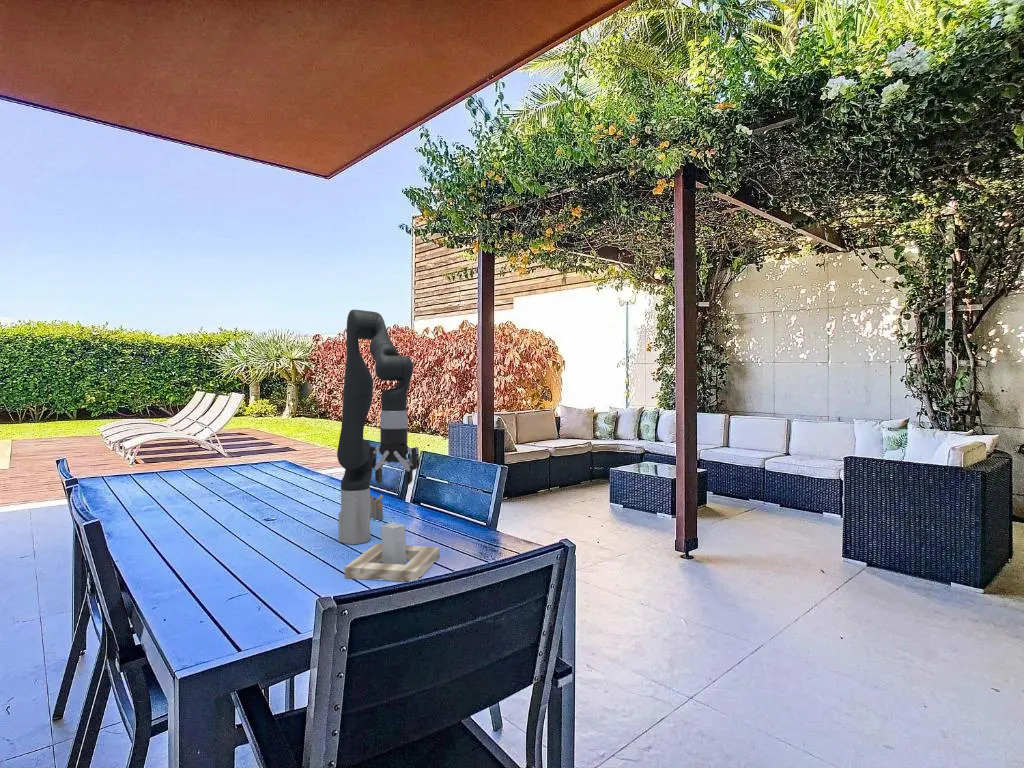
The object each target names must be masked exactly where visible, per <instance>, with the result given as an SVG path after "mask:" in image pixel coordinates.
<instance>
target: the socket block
mask: <svg viewBox="0 0 1024 768" xmlns="http://www.w3.org/2000/svg"><path fill="white" fill-rule="evenodd" d="M405 547H406V560H409V561H408V562H406V565H399V564H383V561H382V543H375V544H374V545H373V546H371V547H370V548H369V549H367V550H366V551H365V552H363V553H362V554H361V555H359V556H357V557H356V558H355V559H354V560H352V561H351V562H350V563H348V564H347V565H345V566H344V578H345V579H352V580H366V579H383V580H394V581H393V582H395V581H400V582H399V583H406V582H405V581H411V580H416V579H419V580H420V579H421V578H422V577H423V576H424V575H423V574H425V573H427V571H429V569H430V568H431V567H432V566H433V565H434V564H435V563H436V561H438V560H439V558H440V547H438V546H437V547H436V546H422V545H406V544H405ZM381 561H382V562H381ZM434 562H435V563H434ZM433 563H434V564H433ZM421 576H422V577H421ZM419 577H421V578H419ZM402 580H403V581H402Z"/></svg>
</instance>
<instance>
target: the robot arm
mask: <svg viewBox="0 0 1024 768" xmlns="http://www.w3.org/2000/svg"><path fill="white" fill-rule="evenodd" d="M346 318H347V319H346V357H345V359H346V361H345V368H344V369H345V371H344V372H345V373H344V380H343V381H344V382H343V393H342V400H343V401H342V411H341V426H340V427H341V429H340V434H339V441H338V445H337V451H336V452H337V453H336V456H337V461H338V464H339V465H340V466H341V467H342V468H343V469H344V475H343V477H342V479H341V481H340V512H338V514H337V515H338V521H337V522H338V543H343V544H346V545H358V544H363V543H364V544H365V543H367V542H369V541H370V540H371V518H370V496H371V480H372V476H373V469H374V474H375V475H374V480H375V482H376V484H381V483H383V468H382V467H383V466H385V464H386V463H397V464H398V463H400V464H401V465H402V466H403V467H404V469H405V470H406V471H405V485H410V484H411V483H412V482H413V474H414V473H413V472H414V470H417V469H419V468H420V454H419V453H420V452H419V449H420V448H419V447H418V446H415V447H409V446H408V428H409V427H408V426H409V422H408V420H409V419H408V409H407V407H408V406H407V402H408V401H407V400H408V399H407V398H408V392H409V387H410V383H411V379H412V376H413V372H414V364H413V361H412V359H411V358H410V357H409V356H406V355H399V351H398V350H397V348H396V347H395V345H394V344H393V342H392V341H391V339H390V335H389V333H388V328H387V326H386V323H385V322H386V321H385V320H384V318H383V316H382V314H380V313H379V312H376V311H372V310H370V311H369V310H361V309H351V310H349V312H348V315H347V317H346ZM359 340H369V341H370V343H369V352H370V355H371V356H372V358H373V360H374V363H375V366H374V370H375V372H374V373H375V376H376V377H377V378H378V379H379V380H381V381H386V382H388V381H393V382H394V381H398V382H397V384H396V385H395V387H393V388H388V389H387V388H386V389H384V390H383V391H382V392H381V402H380V403H381V405H380V407H381V408H380V409H381V411H380V420H379V421H380V430H379V431H380V433H379V434H380V436H379V437H380V440H379V441H380V445H379V446H377V445H372V446H371V444H370V442H368V441H367V440H365V439H364V429H365V424H366V420H367V417H368V415H369V412H370V409H371V407H372V406H371V405H372V402H373V393H374V378H373V376H372V373H371V372H370V369H369V368H368V366H367V364H366V363H365V361H364V359H363V356H362V354H361V351H360V350H361V349H360V345H359V343H360V341H359ZM379 453H380V455H381V457H380V458H379V460H378V461H377V455H378V454H379ZM408 453H409V455H410V456H411V462H412V463H411V462H410V459H409V457H408V456H407V455H408Z"/></svg>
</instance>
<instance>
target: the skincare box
mask: <svg viewBox="0 0 1024 768" xmlns="http://www.w3.org/2000/svg"><path fill="white" fill-rule="evenodd" d="M380 528H381V533H380V535H381V544H382V563H383V564H399V565H406V564H407V561H406V547H405V545H406V525H403V524H399V523H396V522H388V523H383V524H381V525H380Z"/></svg>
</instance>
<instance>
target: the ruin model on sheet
mask: <svg viewBox="0 0 1024 768" xmlns="http://www.w3.org/2000/svg"><path fill="white" fill-rule="evenodd" d="M383 498H384V495H382V494H380V495H379V497H378V498H377V497H376V496H373V495H370V517H371V518H373V519H374V520H383V521H384V519H383V517H384V515H383V514H384V512H383V509H384V507H383V505H384V503H383V500H382V501H381V499H383ZM371 518H370V519H371ZM373 519H372V520H373ZM374 520H373V521H374Z"/></svg>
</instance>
